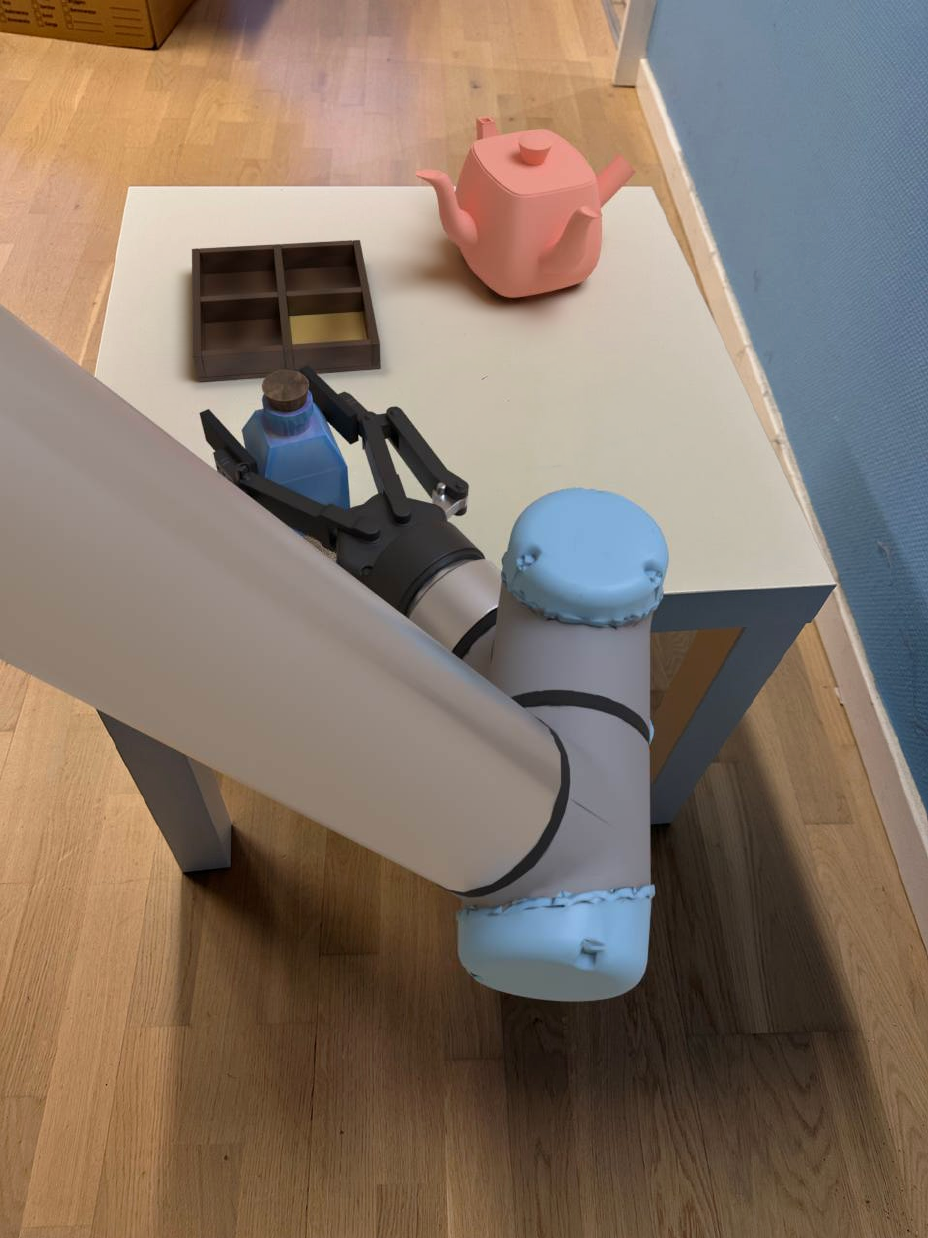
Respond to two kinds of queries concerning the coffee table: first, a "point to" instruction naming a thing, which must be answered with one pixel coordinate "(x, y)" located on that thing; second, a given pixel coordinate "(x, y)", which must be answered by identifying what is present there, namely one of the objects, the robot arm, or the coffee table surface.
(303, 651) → the robot arm
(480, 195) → the teapot
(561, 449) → the coffee table surface
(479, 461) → the coffee table surface
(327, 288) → the wooden compartment tray
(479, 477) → the coffee table surface
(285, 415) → the perfume bottle
